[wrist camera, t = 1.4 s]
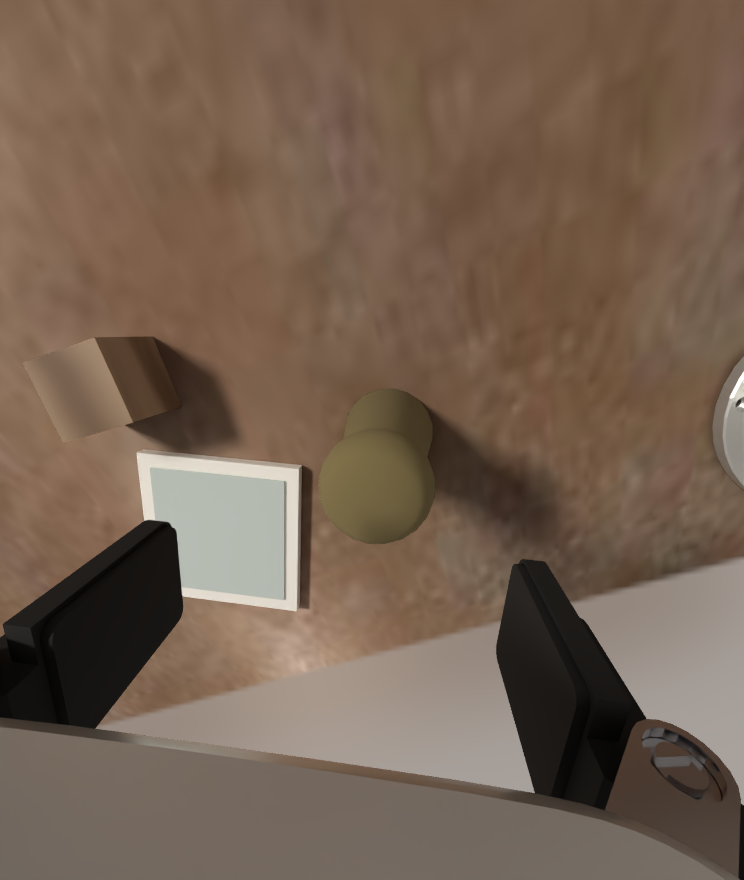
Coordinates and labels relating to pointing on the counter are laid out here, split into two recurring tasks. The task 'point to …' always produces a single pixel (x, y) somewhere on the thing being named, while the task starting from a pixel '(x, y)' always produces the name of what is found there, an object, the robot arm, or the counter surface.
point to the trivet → (229, 524)
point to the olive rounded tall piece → (380, 469)
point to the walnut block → (102, 384)
